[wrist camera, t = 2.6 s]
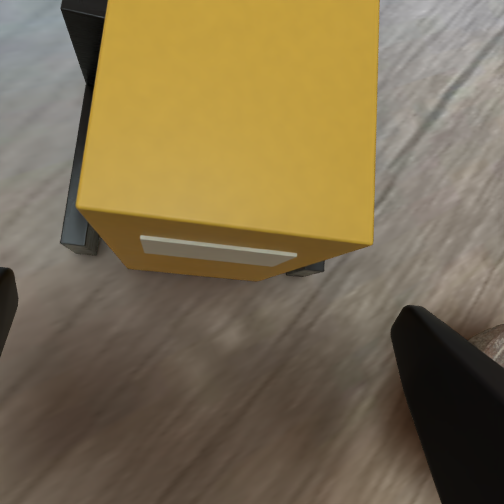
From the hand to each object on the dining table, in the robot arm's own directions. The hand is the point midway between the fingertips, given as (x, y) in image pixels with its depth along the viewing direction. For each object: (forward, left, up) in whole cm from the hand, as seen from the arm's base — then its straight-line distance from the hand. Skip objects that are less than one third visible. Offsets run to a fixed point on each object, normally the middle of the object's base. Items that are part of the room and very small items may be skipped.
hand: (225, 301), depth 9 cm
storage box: (+5, -3, -11) cm, 13 cm away
